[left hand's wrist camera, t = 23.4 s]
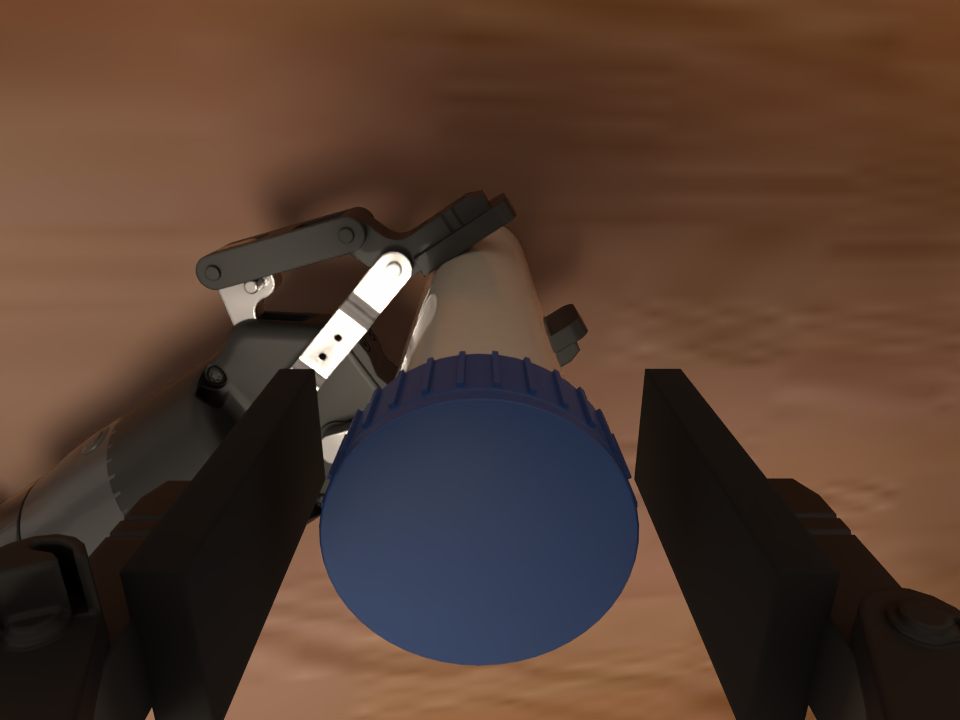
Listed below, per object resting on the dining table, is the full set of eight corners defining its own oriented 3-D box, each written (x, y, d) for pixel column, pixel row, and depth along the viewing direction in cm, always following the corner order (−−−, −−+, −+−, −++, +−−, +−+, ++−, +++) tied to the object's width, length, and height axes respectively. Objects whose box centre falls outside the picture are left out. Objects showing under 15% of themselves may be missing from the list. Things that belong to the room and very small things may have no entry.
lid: (609, 591, 13) (630, 669, 11) (350, 592, 13) (328, 670, 11) (630, 347, 11) (660, 393, 9) (326, 348, 11) (297, 395, 9)
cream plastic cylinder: (544, 272, 29) (646, 524, 11) (473, 328, 30) (463, 640, 12) (486, 199, 28) (498, 350, 10) (414, 259, 29) (308, 494, 11)
